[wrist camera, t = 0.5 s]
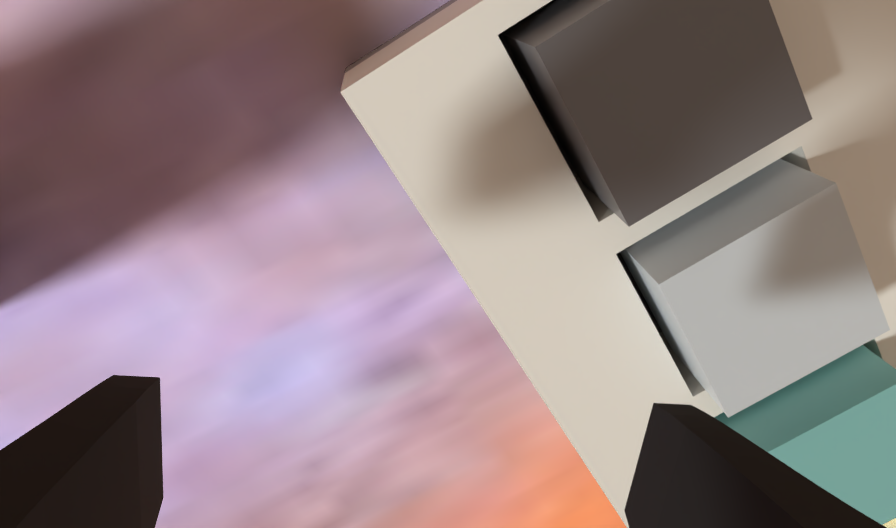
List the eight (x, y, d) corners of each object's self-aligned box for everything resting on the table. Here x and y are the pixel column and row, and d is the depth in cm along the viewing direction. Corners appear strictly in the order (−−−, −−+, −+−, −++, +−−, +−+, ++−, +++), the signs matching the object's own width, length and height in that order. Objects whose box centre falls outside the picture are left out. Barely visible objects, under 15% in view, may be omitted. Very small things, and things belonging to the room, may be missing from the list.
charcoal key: (731, 93, 16) (812, 119, 13) (582, 183, 17) (629, 227, 14) (664, -69, 15) (738, -82, 12) (502, 34, 15) (535, 46, 12)
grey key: (806, 273, 18) (889, 330, 15) (671, 348, 19) (728, 417, 16) (753, 147, 17) (836, 183, 14) (609, 232, 17) (658, 284, 14)
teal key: (864, 416, 20) (948, 490, 17) (742, 481, 21) (804, 564, 18) (823, 315, 19) (907, 378, 16) (692, 387, 19) (750, 461, 16)
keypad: (925, 344, 22) (1035, 415, 19) (627, 504, 24) (675, 600, 20) (742, -189, 16) (853, -239, 12) (345, 68, 17) (340, 92, 14)
